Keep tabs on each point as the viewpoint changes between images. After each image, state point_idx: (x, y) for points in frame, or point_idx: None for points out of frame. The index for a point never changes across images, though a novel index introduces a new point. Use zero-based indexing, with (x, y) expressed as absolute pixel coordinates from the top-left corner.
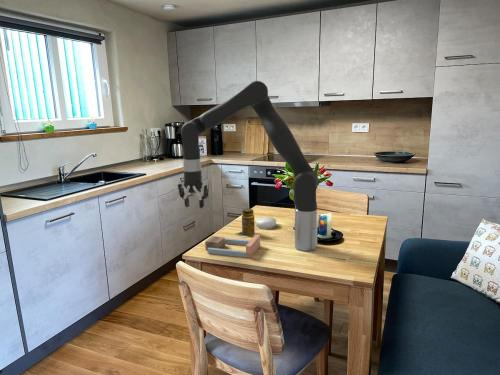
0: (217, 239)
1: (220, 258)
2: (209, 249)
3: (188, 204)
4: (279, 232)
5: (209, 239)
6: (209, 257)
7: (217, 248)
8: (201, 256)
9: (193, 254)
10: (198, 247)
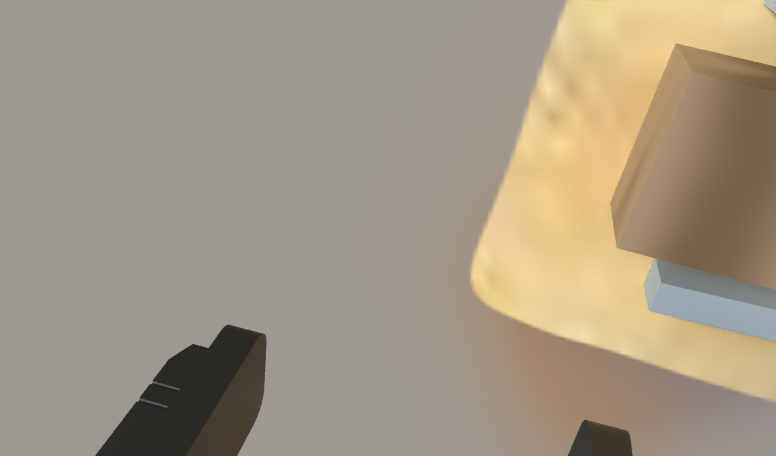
0: (773, 191)
1: (772, 380)
2: (668, 312)
3: (241, 398)
4: None
5: (664, 191)
6: (668, 358)
7: (757, 305)
8: (593, 337)
9: (513, 299)
10: (525, 149)
